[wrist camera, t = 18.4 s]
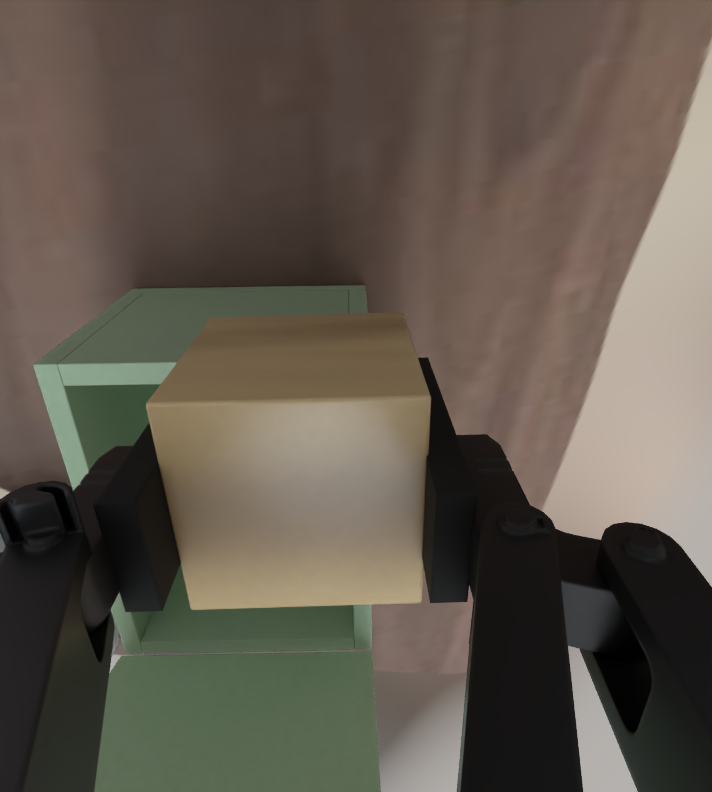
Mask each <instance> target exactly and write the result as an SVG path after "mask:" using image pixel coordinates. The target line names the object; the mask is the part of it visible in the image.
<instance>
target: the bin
mask: <svg viewBox="0 0 712 792" xmlns="http://www.w3.org/2000/svg"><path fill="white" fill-rule="evenodd" d="M358 313H368V308H367V298H366V288H365V285H338V286H273V287H208V288H143V289H132V290H130V291H129V292H128V293H127V294H125V295H124V296H122V297H121V298H120V299H118V300H117V301H116V302H114V303H113V304H112V305H111V306H109V307H108V308H107V309H105V310H104V311H103V312H101V313H100V314H99V315H97V316H96V317H95V318H93V319H92V320H91V321H90V322H88V323H87V324H86V325H84V326H83V327H82V328H80V329H79V330H78V331H76V332H75V333H74V334H72V335H71V336H70V337H69V338H67V339H66V340H65V341H63V342H62V343H61V344H59V345H58V346H57V347H55V348H54V349H53V350H51V351H50V352H49V353H48V354H46V355H45V356H44V357H42V358H41V359H40V360H38V361H37V362H36V363H34V364H33V367H34V370H35V373H36V376H37V379H38V382H39V386H40V389H41V392H42V395H43V398H44V401H45V404H46V407H47V410H48V414H49V417H50V420H51V423H52V426H53V429H54V432H55V435H56V438H57V442H58V445H59V448H60V451H61V454H62V457H63V460H64V463H65V467H66V470H67V473H68V476H69V479H70V482H71V485H72V488H73V491H74V490H75V488H76V487H77V486H78V485H80V482H81V480H82V479H83V478H84V476H85V475H86V474H88V473H89V472H88V471H89V470H90V469H91V467H92V466H93V465H94V463H95V462H96V461H97V459H98V458H99V457H101V456H102V455H104V454H105V453H107V452H108V451H110V450H111V449H112V448H114V447H115V446H133V445H134V444H135V443H136V441H137V440H138V438H139V437H140V435H141V434H142V432H143V431H144V429H145V428H146V426H147V425H148V423H149V418H148V413H147V409H146V404H147V402H148V401H149V399H150V398H151V397H152V395H153V394H154V393H155V391H156V390H157V389H158V387H159V386H160V385H161V383H162V382H163V381H164V379H165V378H166V377H167V375H168V374H169V373H170V371H171V370H172V369H173V367H174V366H175V365H176V363H177V362H178V361H179V359H180V358H181V357H182V355H183V354H184V353H185V351H186V350H187V349H188V347H189V346H190V345H191V343H192V342H193V341H194V339H195V338H196V337H197V335H198V334H199V333H200V331H201V330H202V329H203V328H204V326H205V325H206V324H207V322H208V321H209V320H210V318H212V317H246V316H283V315H321V314H358ZM111 610H112V613H113V616H114V619H115V622H116V625H117V628H118V632H119V635H120V638H121V641H122V644H123V647H124V650H125V653H126V654H143V653H144V654H167V653H222V652H277V651H331V650H354V649H355V650H370V649H372V605H340V606H307V607H274V608H241V609H208V610H192V609H191V608H190V603H189V599H188V594H187V590H186V585H185V581H184V576H183V572H182V567H181V564H180V567H179V569H178V572H177V575H176V577H175V580H174V582H173V585H172V588H171V590H170V593H169V595H168V598H167V601H166V603H165V606H164V608H163V611H145V612H125V609H124V606H123V602H122V599H121V596H120V593H119V594H118V596H117V598H116V600H115V602H114V604H113V606H112V608H111Z"/></svg>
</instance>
